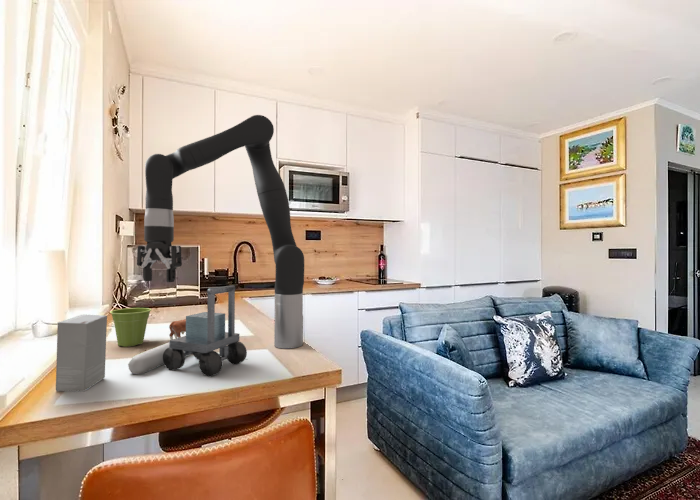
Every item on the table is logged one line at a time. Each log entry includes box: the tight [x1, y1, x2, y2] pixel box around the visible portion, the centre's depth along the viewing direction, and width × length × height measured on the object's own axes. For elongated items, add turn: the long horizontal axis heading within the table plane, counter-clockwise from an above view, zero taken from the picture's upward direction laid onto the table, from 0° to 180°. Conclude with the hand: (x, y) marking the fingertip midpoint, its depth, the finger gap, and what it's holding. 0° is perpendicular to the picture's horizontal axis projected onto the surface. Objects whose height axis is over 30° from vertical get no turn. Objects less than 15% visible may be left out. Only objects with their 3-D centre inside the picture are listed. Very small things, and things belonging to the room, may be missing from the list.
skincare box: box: [55, 314, 108, 392], centre depth 84 cm, size 8×7×16 cm
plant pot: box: [109, 307, 152, 347], centre depth 120 cm, size 12×12×11 cm
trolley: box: [163, 284, 248, 377], centre depth 98 cm, size 13×18×22 cm
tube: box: [127, 341, 185, 375], centre depth 103 cm, size 5×5×25 cm
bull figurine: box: [168, 318, 186, 341], centre depth 127 cm, size 4×13×8 cm, turn 148°
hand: (158, 281), depth 105 cm, fingers open, 8 cm apart
